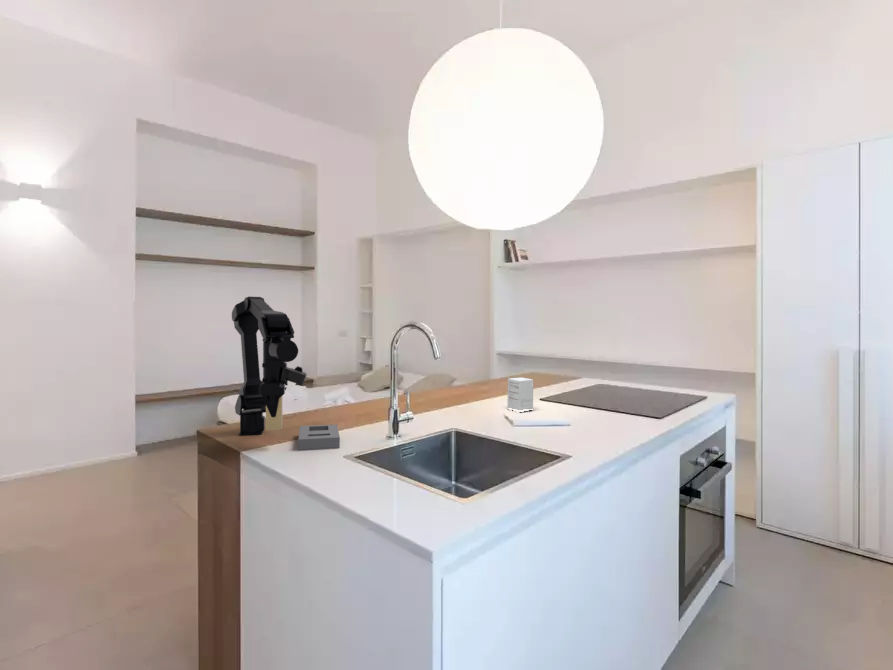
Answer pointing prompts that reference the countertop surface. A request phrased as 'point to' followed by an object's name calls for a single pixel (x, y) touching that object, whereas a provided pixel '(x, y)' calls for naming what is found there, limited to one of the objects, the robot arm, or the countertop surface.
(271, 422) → the brass peg
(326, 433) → the socket block
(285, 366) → the robot arm
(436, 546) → the countertop surface
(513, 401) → the supplement box
